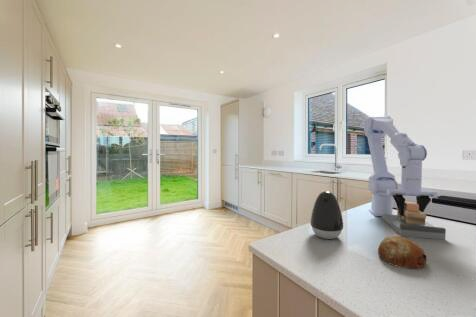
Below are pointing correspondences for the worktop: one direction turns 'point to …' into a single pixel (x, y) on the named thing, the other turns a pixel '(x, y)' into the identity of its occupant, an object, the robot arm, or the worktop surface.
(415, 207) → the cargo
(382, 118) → the robot arm
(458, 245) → the worktop surface
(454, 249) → the worktop surface
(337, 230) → the dark grey egg shape
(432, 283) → the worktop surface
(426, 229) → the dock
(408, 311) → the worktop surface
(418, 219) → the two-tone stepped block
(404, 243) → the brown rounded lump
